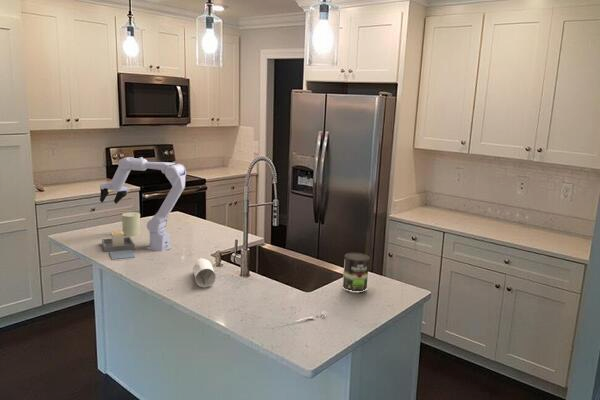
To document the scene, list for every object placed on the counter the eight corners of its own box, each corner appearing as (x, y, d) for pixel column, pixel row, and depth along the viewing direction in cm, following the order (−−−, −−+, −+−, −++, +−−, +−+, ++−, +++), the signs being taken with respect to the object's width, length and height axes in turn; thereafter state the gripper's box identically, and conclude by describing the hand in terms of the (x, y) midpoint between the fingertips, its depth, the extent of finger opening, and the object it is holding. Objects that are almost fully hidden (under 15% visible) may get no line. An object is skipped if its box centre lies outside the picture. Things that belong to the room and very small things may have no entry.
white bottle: (210, 270, 210) (210, 253, 208) (215, 287, 192) (215, 268, 191) (191, 271, 208) (191, 254, 206) (195, 288, 190) (195, 269, 188)
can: (137, 238, 250) (136, 216, 247) (119, 237, 250) (118, 215, 247) (143, 233, 259) (142, 211, 256) (126, 232, 259) (125, 210, 256)
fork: (274, 326, 164) (274, 321, 163) (323, 314, 174) (323, 309, 173) (279, 330, 161) (279, 325, 160) (328, 318, 171) (328, 313, 170)
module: (122, 244, 236) (122, 230, 235) (124, 247, 232) (123, 233, 231) (111, 245, 234) (111, 231, 233) (113, 248, 230) (112, 234, 228)
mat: (131, 252, 228) (131, 250, 228) (135, 258, 219) (134, 256, 219) (109, 254, 223) (109, 252, 223) (111, 261, 215) (111, 259, 215)
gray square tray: (130, 242, 242) (130, 236, 242) (134, 250, 231) (134, 244, 230) (101, 245, 236) (101, 239, 235) (104, 253, 224) (104, 247, 224)
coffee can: (370, 293, 194) (373, 260, 192) (346, 293, 192) (348, 260, 189) (362, 283, 204) (365, 252, 201) (339, 284, 202) (341, 252, 199)
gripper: (128, 176, 240) (117, 198, 244) (102, 172, 228) (91, 195, 232) (135, 184, 236) (123, 206, 240) (108, 180, 225) (97, 204, 228)
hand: (108, 201), depth 236 cm, fingers open, 7 cm apart
